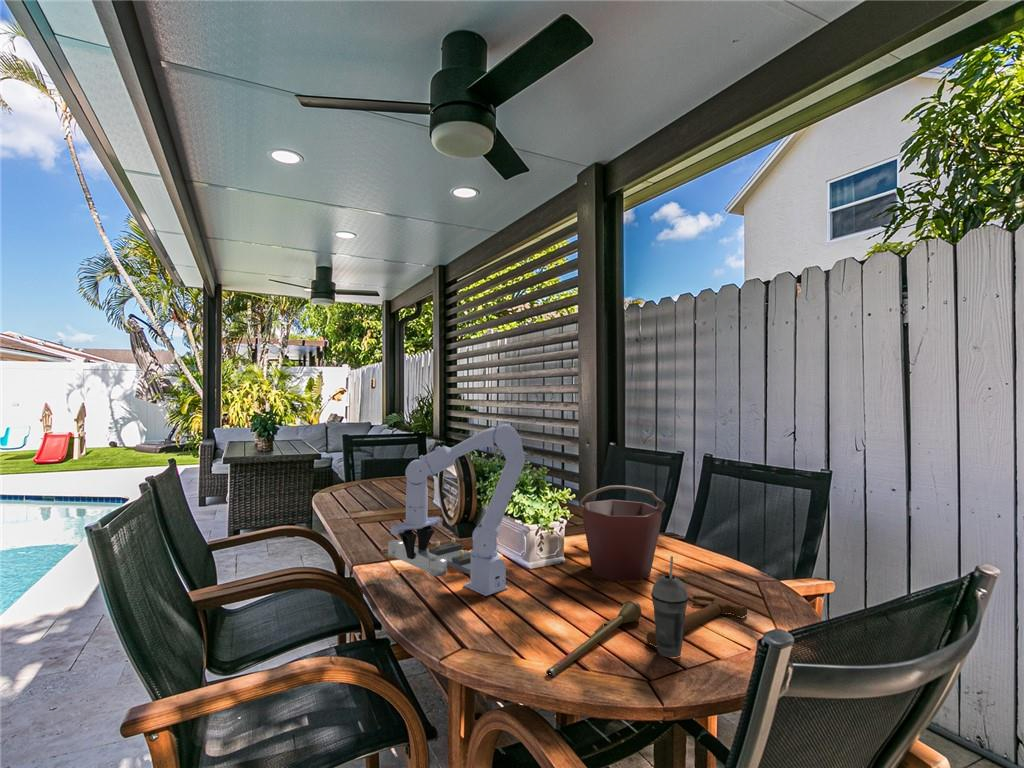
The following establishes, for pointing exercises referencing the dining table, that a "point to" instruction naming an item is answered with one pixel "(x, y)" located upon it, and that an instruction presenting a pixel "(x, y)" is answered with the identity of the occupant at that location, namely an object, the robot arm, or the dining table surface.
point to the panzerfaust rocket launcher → (600, 634)
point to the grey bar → (419, 558)
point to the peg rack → (453, 555)
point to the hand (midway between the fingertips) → (416, 556)
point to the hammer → (705, 614)
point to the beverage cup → (669, 613)
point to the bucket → (621, 535)
